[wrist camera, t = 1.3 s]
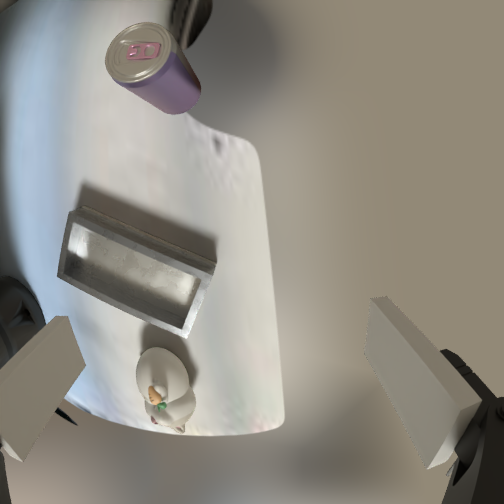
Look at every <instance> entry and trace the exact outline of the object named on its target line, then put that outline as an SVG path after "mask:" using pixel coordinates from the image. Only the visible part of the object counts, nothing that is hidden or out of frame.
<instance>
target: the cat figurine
mask: <svg viewBox="0 0 504 504" xmlns="http://www.w3.org/2000/svg"><path fill="white" fill-rule="evenodd" d="M136 381H137V385H138V388H139V391H140V393H141V394H142V396H143V397H144V399H145V409H146V412H147V414H148V415H149V416H150V417H151V421H152V423H154V424H159V425H162V426H167V427H171V428H172V429H174V430H175V431H176V432H178V433H180V434H183V433H184V432H185V423H186V422H187V421H188V420H189V419H190V417H191V416H192V414H193V412H194V409H195V406H196V398H195V394H194V392H193V390H192V388H191V387H190V385H189V378H188V374H187V371H186V368H185V366H184V365H183V363H182V362H181V361H180V359H179V358H178V357H177V356H176V355H174V354H173V353H172V352H170V351H168V350H166V349H164V348H160V347H153V348H150V349H148V350H146V351H145V352H144V353H143V354H142V355H141V357H140V359H139V361H138V364H137V368H136Z"/></svg>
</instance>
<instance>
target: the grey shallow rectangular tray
mask: <svg viewBox="0 0 504 504" xmlns="http://www.w3.org/2000/svg"><path fill="white" fill-rule="evenodd" d="M216 264H217V263H216V262H214V261H211V260H209V259H207V258H204V257H202V256H199V255H197V254H195V253H192V252H190V251H187V250H185V249H183V248H180V247H178V246H176V245H173V244H171V243H169V242H166V241H164V240H162V239H159V238H157V237H155V236H152V235H150V234H148V233H146V232H143V231H141V230H139V229H136V228H134V227H132V226H130V225H127V224H125V223H123V222H120V221H118V220H116V219H114V218H111V217H109V216H107V215H105V214H102V213H100V212H98V211H96V210H94V209H91V208H89V207H87V206H81V208H80V209H77V210H73V211H70V212H69V214H68V219H67V223H66V228H65V233H64V238H63V243H62V248H61V254H60V260H59V266H58V273H57V277H58V278H60V279H62V280H64V281H66V282H67V283H69V284H71V285H73V286H75V287H77V288H78V289H80V290H82V291H84V292H86V293H88V294H90V295H92V296H94V297H96V298H98V299H100V300H102V301H104V302H106V303H108V304H110V305H112V306H114V307H116V308H118V309H120V310H122V311H124V312H127V313H129V314H131V315H133V316H135V317H137V318H140V319H142V320H144V321H146V322H149V323H151V324H153V325H155V326H158V327H160V328H162V329H165V330H167V331H170V332H172V333H174V334H177V335H179V336H182V337H184V338H187V337H188V335H189V332H190V330H191V327H192V325H193V322H194V320H195V317H196V315H197V312H198V310H199V308H200V305H201V303H202V300H203V298H204V295H205V293H206V291H207V288H208V286H209V283H210V281H211V279H212V276H213V273H214V270H215V267H216Z"/></svg>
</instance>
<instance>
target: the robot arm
mask: <svg viewBox="0 0 504 504" xmlns="http://www.w3.org/2000/svg"><path fill="white" fill-rule="evenodd" d="M364 354H365V356H366V358H367V360H368V361H369V363H370V365H371V367H372V368H373V370H374V372H375V374H376V375H377V377H378V379H379V381H380V382H381V384H382V386H383V388H384V390H385V391H386V393H387V395H388V397H389V399H390V400H391V402H392V404H393V406H394V408H395V410H396V412H397V413H398V415H399V417H400V419H401V421H402V423H403V425H404V426H405V428H406V430H407V432H408V434H409V436H410V438H411V440H412V442H413V444H414V446H415V448H416V449H417V451H418V453H419V455H420V457H421V459H422V461H423V463H424V465H425V467H426V469H430V468H432V467H434V466H437V465H439V464H441V463H444V462H446V461H447V460H448V459H449V457H450V455H451V454H452V452H453V451H454V450H455V452H456V454H457V455H458V458H457V460H456V461H455V462H454V464H453V465H452V467H451V468H450V469H449V471H448V472H447V474H446V476H449V475H450V473H451V472H452V475H451V478H450V481H449V484H448V487H447V490H446V493H445V496H444V499H443V501H442V504H504V397H499V398H497V397H496V396H495V395H494V394H493V393H492V392H491V391H490V390H489V389H488V387H487V386H486V385H485V384H484V383H483V382H482V381H481V379H480V378H479V377H478V376H477V375H476V374H475V373H473V372H472V370H471V369H470V367H468V366H466V363H465V362H464V361H463V360H462V359H461V358H460V357H459V356H458V355H457V354H455V353H453V352H451V351H449V350H447V349H444V350H441V351H439V350H438V349H437V348H436V347H435V346H434V345H433V344H432V343H431V341H430V340H429V339H428V338H427V337H426V336H425V335H424V334H423V333H422V332H421V331H420V330H419V329H418V328H417V326H416V325H415V324H414V323H413V322H412V321H411V320H410V319H409V318H408V317H407V316H406V315H405V314H404V313H403V312H402V311H401V310H400V309H399V308H398V307H397V306H396V305H395V304H394V303H393V302H392V301H391V300H390V299H389V298H388V297H387V296H385V297H378V298H371V299H370V309H369V319H368V328H367V337H366V345H365V351H364ZM85 366H86V364H85V362H84V359H83V357H82V354H81V352H80V349H79V346H78V344H77V341H76V338H75V336H74V333H73V330H72V327H71V324H70V321H69V318H68V316H55V317H54V318H53V319H52V320H51V321H50V322H49V323H48V324H47V325H45V321H44V317H43V315H42V312H41V310H40V308H39V306H38V304H37V302H36V300H35V299H34V297H33V296H32V294H31V293H30V292H29V291H28V289H27V288H26V287H25V286H24V285H23V284H21V283H20V282H19V281H17V280H16V279H14V278H11V277H7V276H4V277H1V278H0V448H1V447H2V446H3V448H4V449H5V450H6V451H7V452H8V454H9V455H10V456H11V457H13V458H15V459H17V460H20V461H22V462H24V460H25V459H26V457H27V455H28V453H29V452H30V450H31V448H32V447H33V445H34V443H35V442H36V440H37V439H38V437H39V435H40V434H41V432H42V430H43V429H44V427H45V426H46V424H47V423H48V421H49V419H50V418H51V416H52V415H53V413H54V412H55V410H56V409H57V407H58V405H59V404H60V403H61V401H62V400H63V398H64V397H65V395H66V394H67V392H68V391H69V389H70V388H71V386H72V385H73V383H74V382H75V380H76V379H77V378H78V376H79V375H80V373H81V372H82V370H83V369H84V368H85ZM0 504H11V499H10V494H9V489H8V483H7V477H6V471H5V463H4V456H3V454H2V452H1V451H0Z"/></svg>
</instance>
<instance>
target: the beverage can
mask: <svg viewBox="0 0 504 504" xmlns="http://www.w3.org/2000/svg"><path fill="white" fill-rule="evenodd" d="M105 65H106V69H107V71H108V73H109V74H110V75H111V77H112V78H113V80H114V81H115V82H116V83H118V84H119V85H121V86H122V87H124V88H126V89H127V90H129V91H131V92H132V93H134V94H136V95H137V96H139V97H141V98H142V99H144V100H145V101H147V102H149V103H150V104H152V105H153V106H155V107H156V108H158V109H160V110H161V111H163V112H165V113H167V114H173V115H175V114H181V113H184V112H186V111H188V110H190V109H191V108H192V107H193V106H194V105H195V104H196V102H197V101H198V99H199V97H200V94H201V85H200V82H199V80H198V78H197V76H196V75H195V73H194V71H193V69H192V68H191V66H190V64H189V62H188V61H187V59H186V57H185V55H184V54H183V52H182V50H181V48H180V47H179V45H178V43H177V42H176V40H175V38H174V37H173V35H172V34H171V33H170V32H169V31H168V30H166V29H165V28H164V27H162V26H161V25H159V24H156V23H150V22H144V23H138V24H135V25H132V26H130V27H128V28H126V29H125V30H123V31H122V32H121V33H119V34H118V35H117V36H116V37H115V38H114V40H113V41H112V42H111V44H110V46H109V48H108V50H107V53H106V58H105Z"/></svg>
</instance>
